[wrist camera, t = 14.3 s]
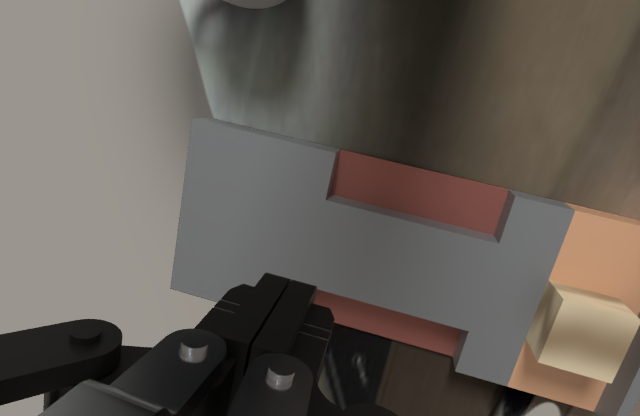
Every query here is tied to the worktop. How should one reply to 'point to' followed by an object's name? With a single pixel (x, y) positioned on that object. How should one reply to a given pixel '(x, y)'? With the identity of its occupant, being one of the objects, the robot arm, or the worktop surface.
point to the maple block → (581, 331)
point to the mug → (255, 3)
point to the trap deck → (404, 252)
